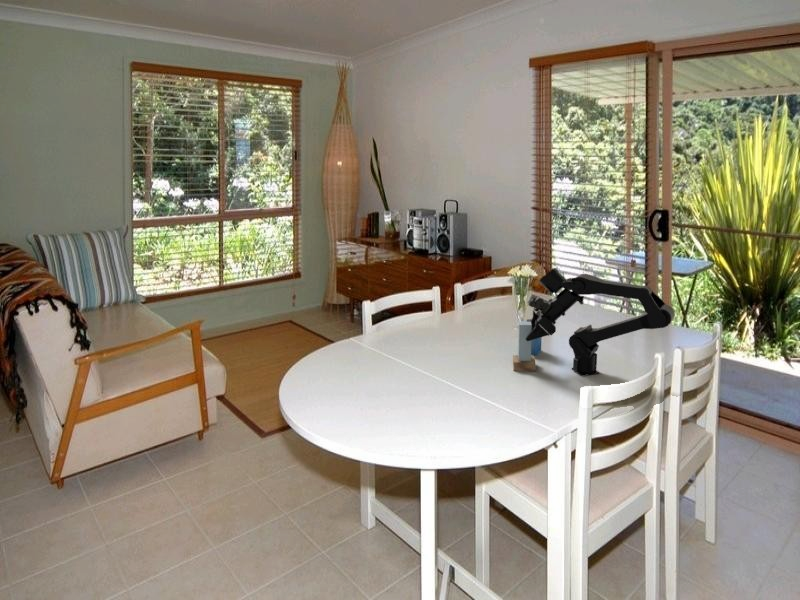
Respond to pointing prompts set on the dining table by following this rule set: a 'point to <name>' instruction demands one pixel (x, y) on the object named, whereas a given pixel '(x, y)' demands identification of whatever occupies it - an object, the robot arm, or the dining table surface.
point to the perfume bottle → (535, 344)
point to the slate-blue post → (524, 341)
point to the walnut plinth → (523, 364)
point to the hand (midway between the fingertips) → (525, 336)
